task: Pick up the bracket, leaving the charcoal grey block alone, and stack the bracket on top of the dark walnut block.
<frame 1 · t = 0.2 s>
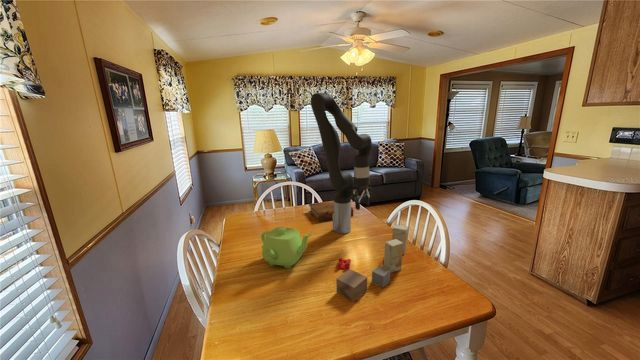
hand: (362, 206, 135), 17 cm above the table, tool pointing down, fingers open, 8 cm apart
grey block: (380, 282, 105), on the table
walnut block: (351, 292, 100), on the table
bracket: (344, 266, 117), on the table
skincare box 2: (392, 269, 113), on the table
teapot: (284, 264, 118), on the table
diary: (330, 214, 173), on the table
skincare box: (398, 251, 127), on the table
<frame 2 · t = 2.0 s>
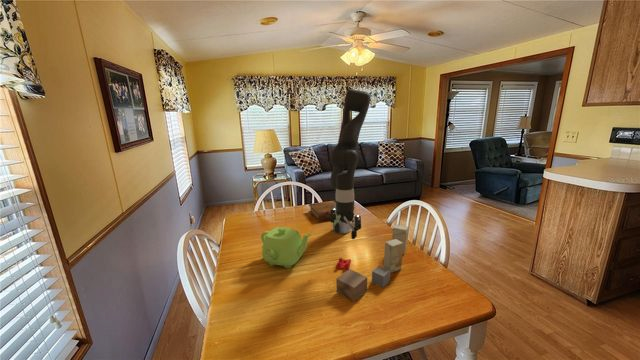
hand: (345, 235, 113), 14 cm above the table, tool pointing down, fingers open, 8 cm apart
nothing on the table moved.
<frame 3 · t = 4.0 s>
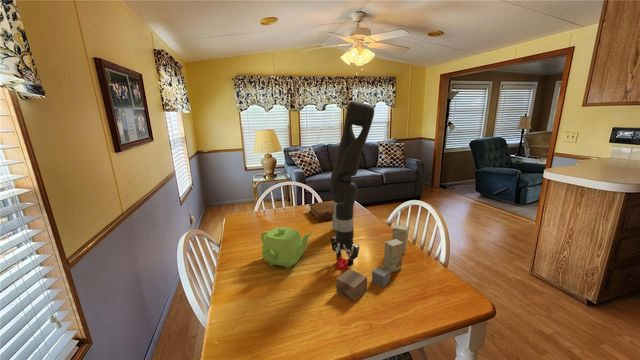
hand: (344, 263, 116), 1 cm above the table, tool pointing down, fingers closed on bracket, 5 cm apart
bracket: (343, 265, 116), on the table, touching gripper
everything else where it was.
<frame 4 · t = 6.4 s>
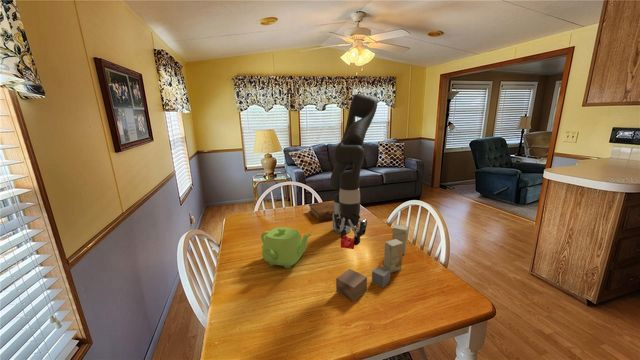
hand: (350, 242, 102), 16 cm above the table, tool pointing down, fingers closed on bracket, 5 cm apart
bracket: (349, 244, 102), point 15 cm above the table, touching gripper
everything else where it was.
when the fingers open (8 cm above the table, at t = 9.0 s): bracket drops 1 cm, resting on walnut block.
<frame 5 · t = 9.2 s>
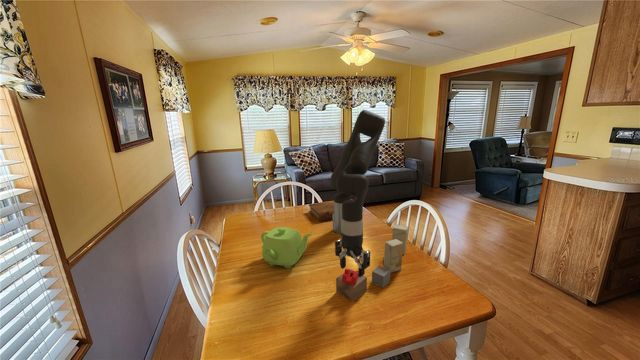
hand: (351, 271, 97), 8 cm above the table, tool pointing down, fingers open, 7 cm apart
walnut block: (351, 291, 100), on the table, touching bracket
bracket: (351, 278, 98), point 6 cm above the table, touching walnut block
everything else where it was.
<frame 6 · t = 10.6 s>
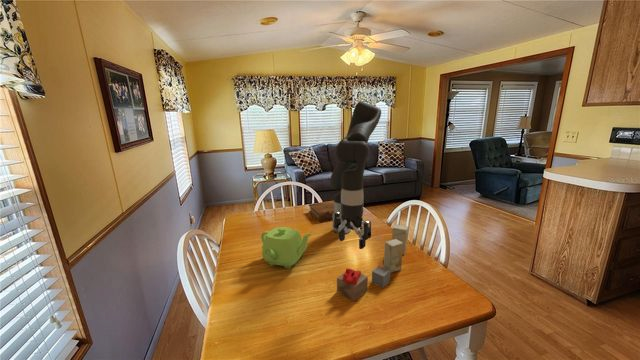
hand: (351, 244, 95), 19 cm above the table, tool pointing down, fingers open, 8 cm apart
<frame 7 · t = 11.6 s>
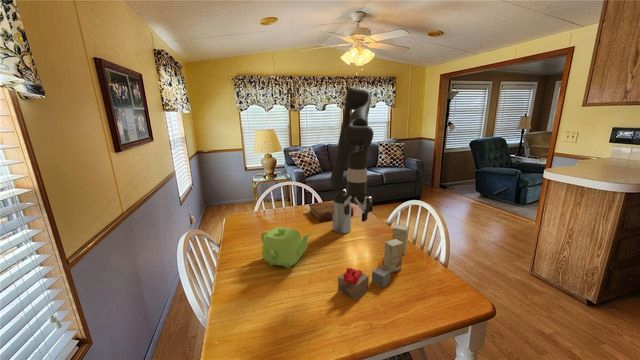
hand: (355, 217, 107), 23 cm above the table, tool pointing down, fingers open, 8 cm apart
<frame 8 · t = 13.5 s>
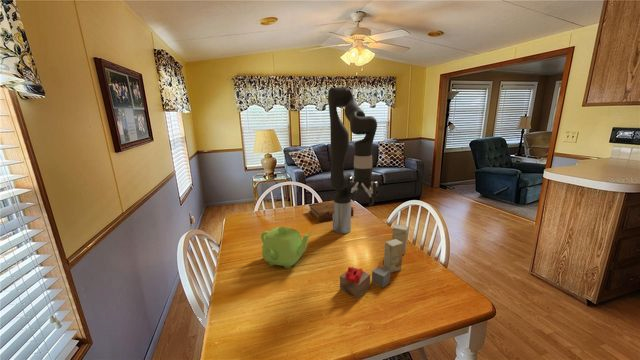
hand: (362, 202, 115), 26 cm above the table, tool pointing down, fingers open, 8 cm apart
walnut block: (355, 289, 101), on the table, touching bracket
at the end: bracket 0.7 cm off-centre on the walnut block, point 5.8 cm above the walnut block's base; the gripper is holding nothing; grey block moved 0.1 cm from its start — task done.
